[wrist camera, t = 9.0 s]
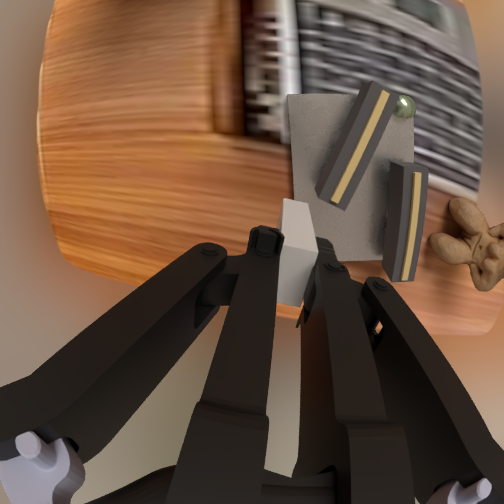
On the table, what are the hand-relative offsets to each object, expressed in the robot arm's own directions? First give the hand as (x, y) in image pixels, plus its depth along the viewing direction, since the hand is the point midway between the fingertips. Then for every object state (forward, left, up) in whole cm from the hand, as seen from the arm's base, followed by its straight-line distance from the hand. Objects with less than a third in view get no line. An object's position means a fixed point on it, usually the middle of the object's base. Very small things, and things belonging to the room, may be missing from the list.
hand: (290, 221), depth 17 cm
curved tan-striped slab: (+5, +14, -17) cm, 22 cm away
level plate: (+1, +8, -19) cm, 20 cm away
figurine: (+8, +27, -19) cm, 34 cm away
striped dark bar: (-4, +7, -17) cm, 19 cm away
